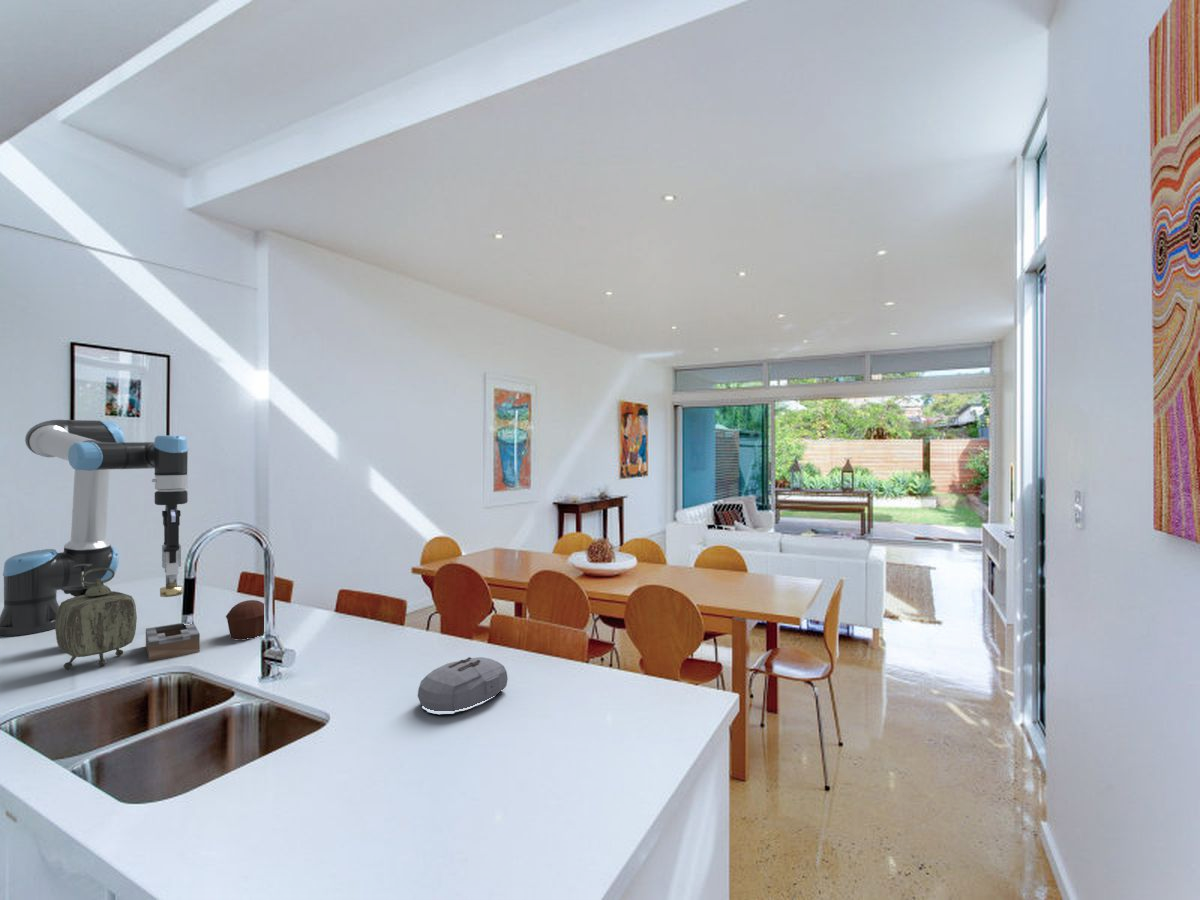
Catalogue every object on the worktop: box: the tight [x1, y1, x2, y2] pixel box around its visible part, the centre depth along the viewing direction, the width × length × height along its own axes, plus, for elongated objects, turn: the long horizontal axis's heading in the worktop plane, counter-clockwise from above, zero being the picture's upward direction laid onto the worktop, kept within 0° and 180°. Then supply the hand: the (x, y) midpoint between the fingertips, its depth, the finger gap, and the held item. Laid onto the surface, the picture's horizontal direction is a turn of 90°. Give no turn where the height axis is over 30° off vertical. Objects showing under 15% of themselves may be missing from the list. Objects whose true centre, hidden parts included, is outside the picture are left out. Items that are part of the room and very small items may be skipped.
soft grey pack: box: [417, 656, 509, 711], centre depth 132 cm, size 15×8×20 cm
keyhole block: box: [145, 620, 201, 662], centre depth 163 cm, size 15×11×5 cm
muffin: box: [225, 599, 265, 640], centre depth 176 cm, size 12×11×10 cm
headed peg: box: [159, 543, 184, 598], centre depth 165 cm, size 5×5×14 cm
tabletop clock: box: [54, 567, 138, 670], centre depth 152 cm, size 14×9×25 cm, turn 149°
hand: (171, 572), depth 165 cm, fingers closed on headed peg, 4 cm apart
